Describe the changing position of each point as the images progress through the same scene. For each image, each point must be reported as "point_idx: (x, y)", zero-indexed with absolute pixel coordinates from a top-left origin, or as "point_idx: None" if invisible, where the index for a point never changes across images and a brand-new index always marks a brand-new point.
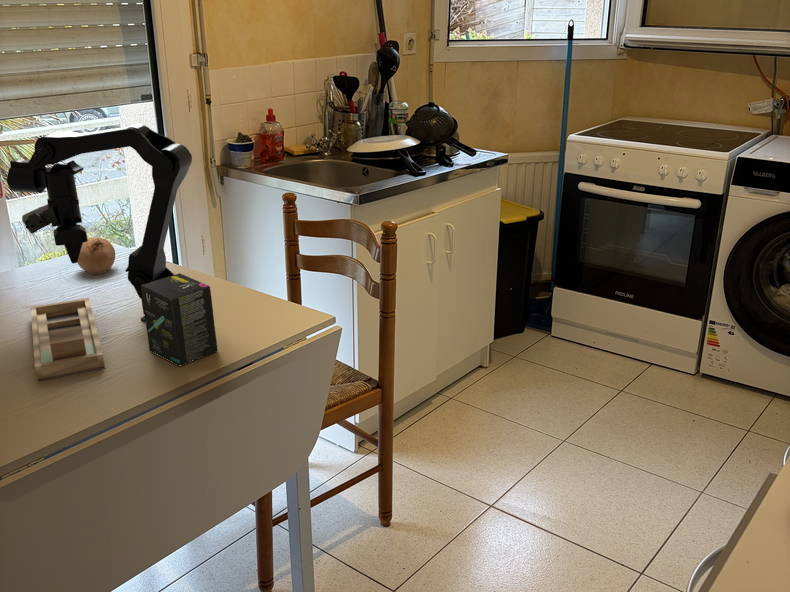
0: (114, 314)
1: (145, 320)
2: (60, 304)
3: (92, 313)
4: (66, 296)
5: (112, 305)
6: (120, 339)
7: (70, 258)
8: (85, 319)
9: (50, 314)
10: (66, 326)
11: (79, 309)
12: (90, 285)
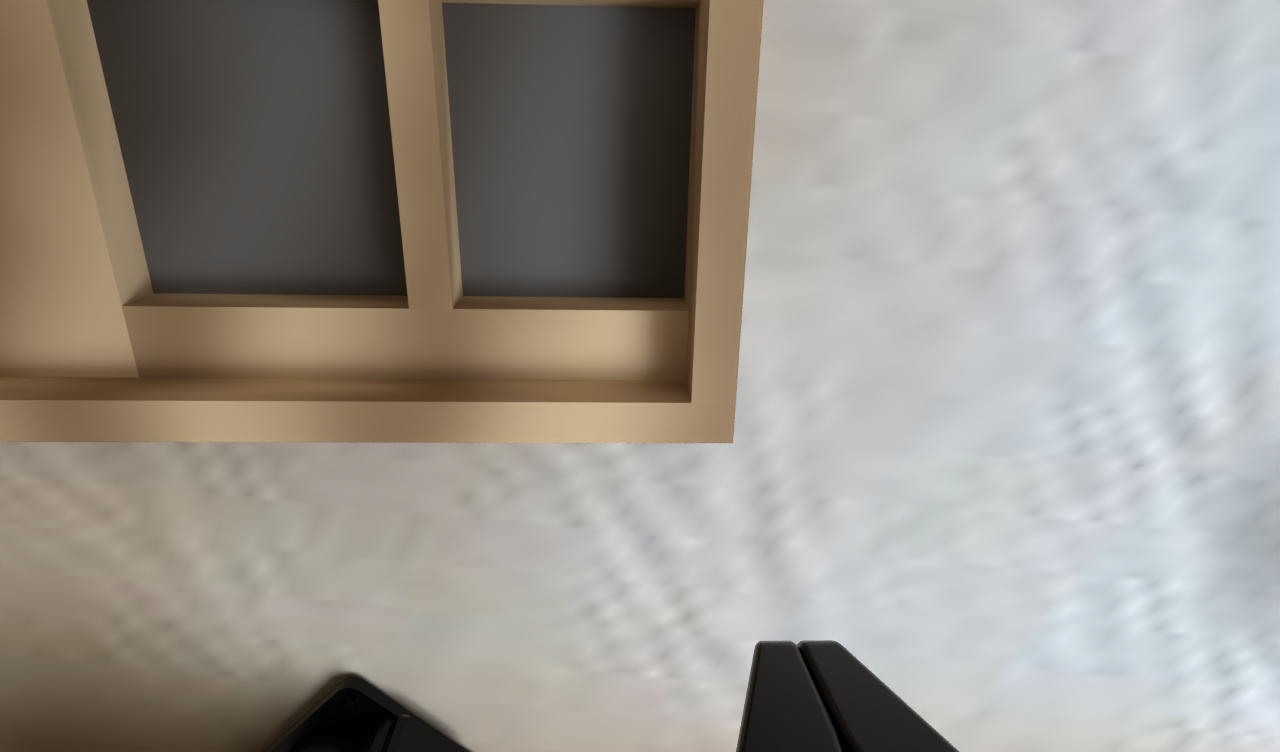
0: (548, 538)
1: (318, 706)
2: (700, 171)
3: (327, 440)
4: (1144, 229)
5: (731, 542)
6: (65, 529)
7: (740, 734)
8: (368, 354)
9: (697, 50)
10: (394, 177)
11: (626, 325)
12: (1256, 436)
